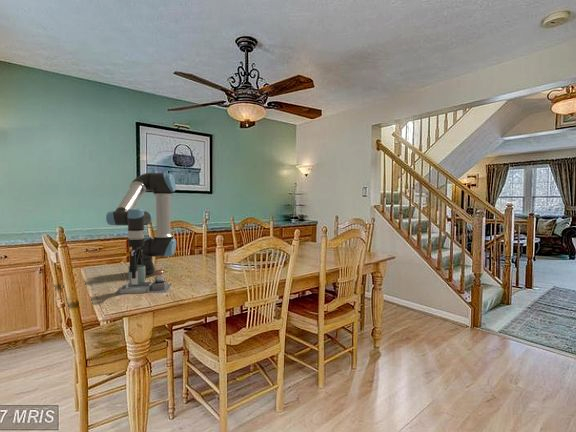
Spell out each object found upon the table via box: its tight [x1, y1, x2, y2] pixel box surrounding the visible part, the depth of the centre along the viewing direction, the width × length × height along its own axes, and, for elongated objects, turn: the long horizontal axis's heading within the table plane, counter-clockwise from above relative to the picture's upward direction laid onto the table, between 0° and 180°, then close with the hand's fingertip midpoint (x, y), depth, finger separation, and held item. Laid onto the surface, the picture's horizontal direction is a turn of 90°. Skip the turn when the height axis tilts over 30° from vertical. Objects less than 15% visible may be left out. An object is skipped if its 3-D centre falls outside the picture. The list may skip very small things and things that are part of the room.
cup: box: [127, 265, 146, 286], centre depth 165 cm, size 8×8×10 cm
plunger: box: [153, 269, 165, 283], centre depth 166 cm, size 5×5×6 cm
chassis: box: [117, 280, 173, 295], centre depth 166 cm, size 16×23×5 cm
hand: (137, 282), depth 165 cm, fingers closed on cup, 8 cm apart
